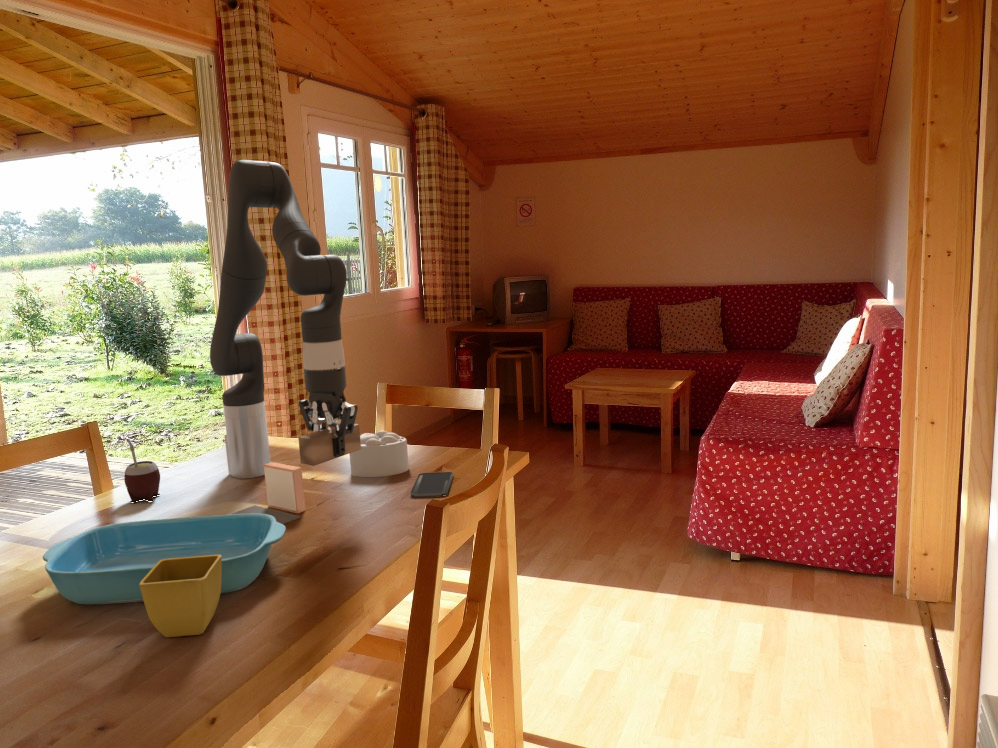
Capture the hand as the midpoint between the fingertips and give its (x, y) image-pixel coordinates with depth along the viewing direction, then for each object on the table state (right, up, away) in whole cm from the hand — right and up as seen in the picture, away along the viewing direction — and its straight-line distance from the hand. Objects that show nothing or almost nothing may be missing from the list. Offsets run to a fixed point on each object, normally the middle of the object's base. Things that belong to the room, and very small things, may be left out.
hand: (331, 454), depth 146 cm
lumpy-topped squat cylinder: (+4, -8, +36) cm, 37 cm away
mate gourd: (-45, -12, +22) cm, 52 cm away
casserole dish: (-22, -19, -19) cm, 34 cm away
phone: (+17, -10, +22) cm, 30 cm away
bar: (0, 0, 0) cm, 0 cm away
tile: (-12, -12, +12) cm, 21 cm away
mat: (-16, -13, +7) cm, 22 cm away
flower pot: (-12, -21, -37) cm, 44 cm away
